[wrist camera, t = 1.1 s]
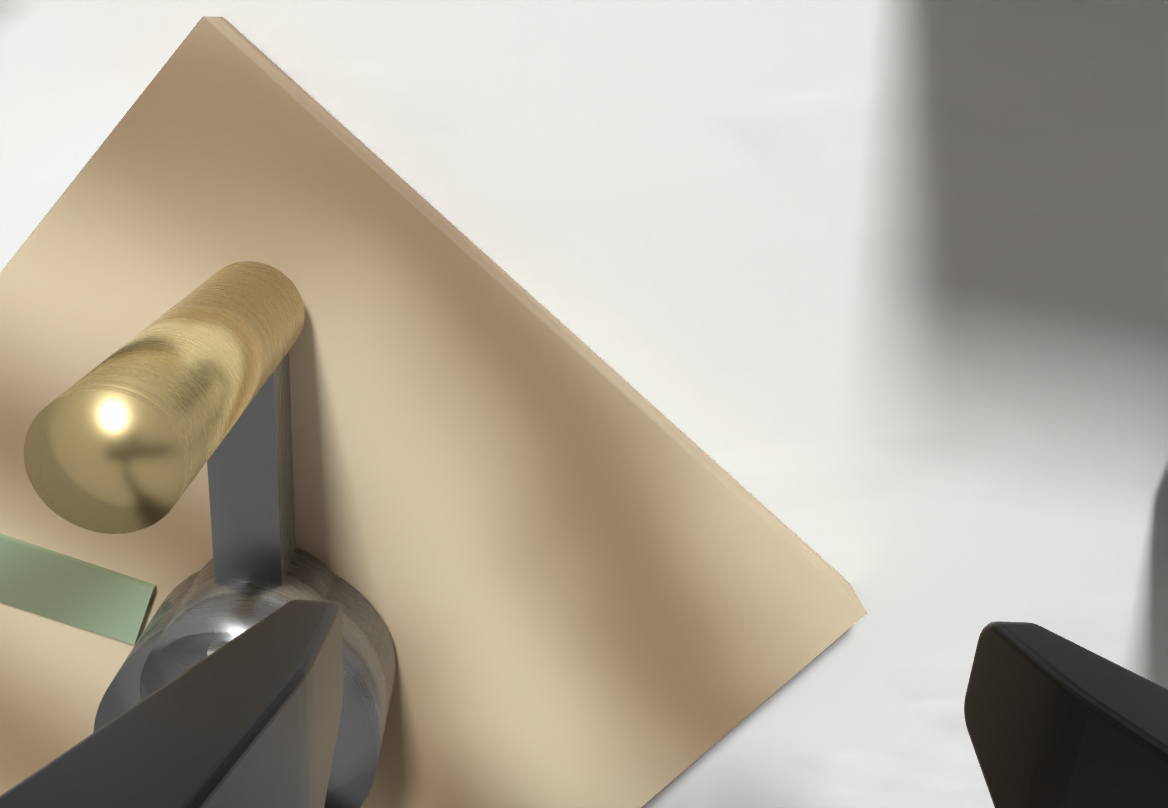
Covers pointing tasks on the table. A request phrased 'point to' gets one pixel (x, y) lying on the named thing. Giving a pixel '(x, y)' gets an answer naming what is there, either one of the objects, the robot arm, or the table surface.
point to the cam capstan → (211, 493)
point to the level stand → (394, 469)
